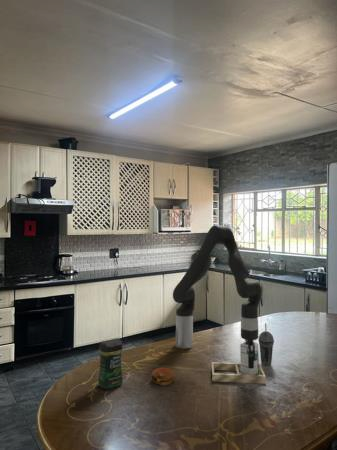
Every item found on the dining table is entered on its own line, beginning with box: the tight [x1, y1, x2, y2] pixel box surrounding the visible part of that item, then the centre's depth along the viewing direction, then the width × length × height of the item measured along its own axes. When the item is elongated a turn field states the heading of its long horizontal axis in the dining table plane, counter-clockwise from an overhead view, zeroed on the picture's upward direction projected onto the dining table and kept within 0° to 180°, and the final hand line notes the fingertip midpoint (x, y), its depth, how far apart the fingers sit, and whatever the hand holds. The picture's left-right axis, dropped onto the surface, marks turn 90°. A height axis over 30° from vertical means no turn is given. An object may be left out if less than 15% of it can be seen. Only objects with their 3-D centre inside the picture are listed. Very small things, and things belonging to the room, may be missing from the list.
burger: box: [151, 367, 176, 387], centre depth 147 cm, size 10×9×5 cm
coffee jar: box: [97, 337, 124, 390], centre depth 143 cm, size 10×8×19 cm
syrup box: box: [239, 341, 260, 375], centre depth 151 cm, size 6×6×14 cm
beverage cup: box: [257, 322, 275, 367], centre depth 164 cm, size 7×7×20 cm
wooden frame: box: [211, 361, 267, 384], centre depth 152 cm, size 22×13×3 cm, turn 84°
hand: (249, 364), depth 151 cm, fingers closed on syrup box, 8 cm apart
